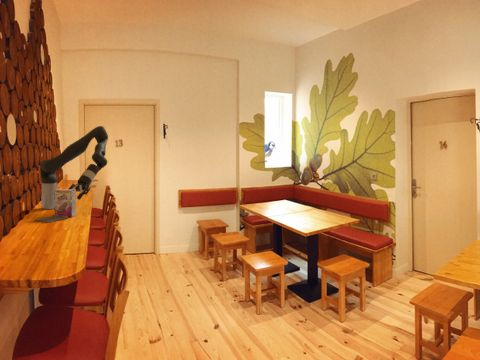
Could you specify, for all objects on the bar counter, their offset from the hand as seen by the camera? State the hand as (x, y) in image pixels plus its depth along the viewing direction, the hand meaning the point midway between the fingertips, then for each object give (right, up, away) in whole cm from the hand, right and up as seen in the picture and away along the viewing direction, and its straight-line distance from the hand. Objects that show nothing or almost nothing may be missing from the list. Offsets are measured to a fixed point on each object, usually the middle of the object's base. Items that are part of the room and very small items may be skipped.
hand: (72, 198), depth 211 cm
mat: (-6, -12, -14) cm, 19 cm away
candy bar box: (-3, -11, -4) cm, 12 cm away
